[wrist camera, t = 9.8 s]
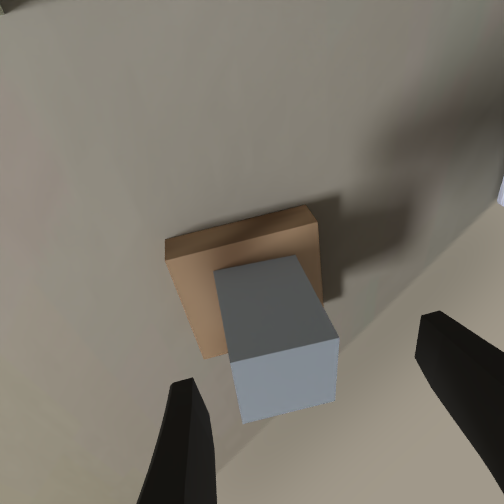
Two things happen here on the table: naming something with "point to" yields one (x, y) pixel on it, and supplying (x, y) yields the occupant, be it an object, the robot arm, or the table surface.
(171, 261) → the walnut block
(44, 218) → the table surface
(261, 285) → the slate block
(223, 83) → the table surface
